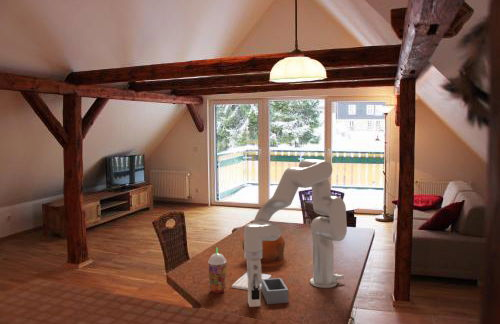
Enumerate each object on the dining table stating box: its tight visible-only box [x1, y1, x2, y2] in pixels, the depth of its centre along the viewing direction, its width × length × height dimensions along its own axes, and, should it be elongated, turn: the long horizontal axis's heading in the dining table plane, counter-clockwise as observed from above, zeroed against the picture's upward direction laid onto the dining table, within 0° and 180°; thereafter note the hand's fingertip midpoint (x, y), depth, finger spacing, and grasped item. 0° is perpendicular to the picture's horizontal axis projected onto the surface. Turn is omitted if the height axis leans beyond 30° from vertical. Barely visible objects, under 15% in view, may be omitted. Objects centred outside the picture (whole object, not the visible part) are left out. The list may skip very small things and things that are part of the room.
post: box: [247, 278, 261, 308], centre depth 161 cm, size 4×4×12 cm
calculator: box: [231, 271, 272, 291], centre depth 187 cm, size 13×20×2 cm, turn 159°
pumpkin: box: [241, 234, 287, 268], centre depth 220 cm, size 22×25×23 cm
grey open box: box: [261, 277, 290, 305], centre depth 169 cm, size 9×14×6 cm, turn 8°
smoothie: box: [207, 247, 227, 294], centre depth 176 cm, size 8×8×20 cm
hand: (253, 294), depth 161 cm, fingers open, 9 cm apart
